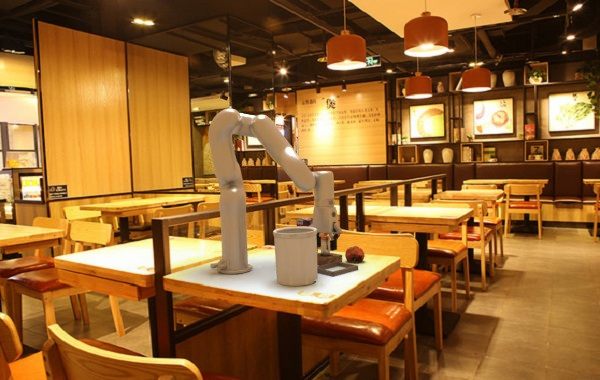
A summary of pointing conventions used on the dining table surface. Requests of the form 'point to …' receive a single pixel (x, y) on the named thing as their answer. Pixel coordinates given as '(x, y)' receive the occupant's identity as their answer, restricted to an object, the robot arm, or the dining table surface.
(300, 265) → the utensil holder
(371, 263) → the dining table surface
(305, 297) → the dining table surface
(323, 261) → the pin block
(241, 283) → the dining table surface
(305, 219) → the supplement box
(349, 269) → the tray
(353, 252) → the pomegranate
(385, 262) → the dining table surface
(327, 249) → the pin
